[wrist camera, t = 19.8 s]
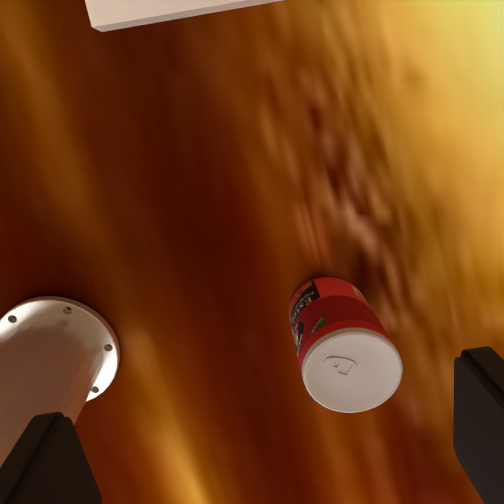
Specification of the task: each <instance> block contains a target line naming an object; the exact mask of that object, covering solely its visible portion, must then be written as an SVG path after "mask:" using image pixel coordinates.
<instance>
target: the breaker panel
mask: <svg viewBox="0 0 504 504" xmlns="http://www.w3.org/2000/svg"><path fill="white" fill-rule="evenodd" d="M277 1H283V0H85V2H86V6H87V10H88V14H89V18H90V22H91V25H92V28H95V29H97V30H99V31H101V32H105V31H110V30H116V29H122V28H128V27H133V26H139V25H145V24H151V23H156V22H162V21H168V20H174V19H179V18H185V17H191V16H197V15H202V14H208V13H214V12H220V11H225V10H231V9H237V8H243V7H248V6H254V5H260V4H266V3H271V2H277Z"/></svg>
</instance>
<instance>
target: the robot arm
mask: <svg viewBox="0 0 504 504" xmlns="http://www.w3.org/2000/svg"><path fill="white" fill-rule="evenodd" d="M69 307H70V308H69ZM119 363H120V347H119V343H118V339H117V337H116V335H115V333H114V331H113V329H112V328H111V327H110V325H109V324H108V323H107V321H106V320H105V319H104V318H103V317H102V316H101V315H99V314H98V313H97V312H96V311H94V310H93V309H91V308H90V307H88V306H87V305H84V304H82V303H80V302H78V301H75V300H72V299H68V298H64V297H56V296H44V297H36V298H32V299H28V300H26V301H24V302H21V303H19V304H17V305H16V306H15V307H13V308H12V309H11V310H9V311H8V312H7V313H6V314H5V315H4V316H3V317H2V318H1V319H0V504H102V499H101V495H100V492H99V489H98V487H97V484H96V482H95V479H94V477H93V474H92V471H91V469H90V466H89V464H88V461H87V459H86V456H85V453H84V451H83V448H82V446H81V443H80V441H79V438H78V435H77V433H76V430H75V428H74V424H75V422H76V420H77V418H78V416H79V414H80V412H81V410H82V408H83V406H84V404H85V402H86V401H89V400H91V399H93V398H95V397H97V396H98V395H100V394H101V393H103V392H104V391H105V390H106V389H107V388H108V387H109V385H110V384H111V382H112V381H113V379H114V377H115V375H116V373H117V370H118V368H119ZM453 444H454V450H455V453H456V456H457V458H458V460H459V462H460V464H461V465H462V467H463V469H464V470H465V472H466V474H467V475H468V477H469V479H470V480H471V482H472V484H473V485H474V487H475V489H476V490H477V492H478V493H479V495H480V497H481V498H482V500H483V502H484V503H485V504H504V360H503V359H502V358H501V357H500V356H499V355H498V354H497V353H496V352H495V351H494V350H493V349H492V348H490V347H487V346H486V347H479V348H473V349H466V350H463V351H462V352H461V357H457V358H455V361H454V433H453Z"/></svg>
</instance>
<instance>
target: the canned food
mask: <svg viewBox="0 0 504 504" xmlns="http://www.w3.org/2000/svg"><path fill="white" fill-rule="evenodd" d="M289 319H290V323H291V328H292V333H293V337H294V342H295V347H296V351H297V356H298V360H299V365H300V369H301V373H302V377H303V380H304V384H305V385H306V388H307V390H308V392H309V394H310V395H311V396H312V397H313V398H314V400H315V401H317V402H318V403H319V404H321V405H322V406H324V407H326V408H328V409H331V410H334V411H338V412H346V413H352V412H361V411H366V410H369V409H372V408H374V407H376V406H378V405H380V404H382V403H383V402H385V401H386V400H387V399H388V398H389V397H390V396H391V395H392V394H393V393H394V392H395V391H396V389H397V387H398V385H399V383H400V380H401V377H402V363H401V359H400V357H399V354H398V352H397V349H396V348H395V346H394V344H393V343H392V341H391V339H390V337H389V336H388V334H387V333H386V331H385V329H384V328H383V326H382V325H381V323H380V322H379V320H378V318H377V317H376V315H375V314H374V312H373V310H372V309H371V307H370V306H369V304H368V302H367V301H366V299H365V298H364V296H363V295H362V293H361V292H360V291H359V289H358V288H356V287H355V286H354V285H353V284H351V283H349V282H347V281H345V280H343V279H340V278H337V277H330V276H328V277H319V278H315V279H312V280H310V281H308V282H306V283H305V284H303V285H302V286H301V287H300V288H299V289H298V290H297V291H296V293H295V294H294V296H293V298H292V301H291V303H290V307H289Z"/></svg>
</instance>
